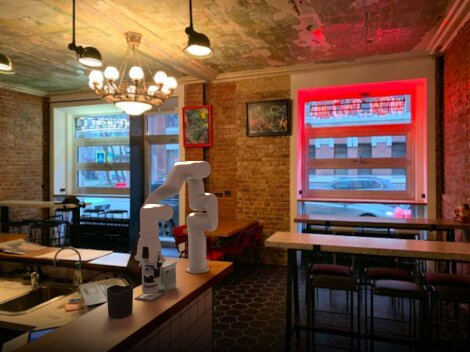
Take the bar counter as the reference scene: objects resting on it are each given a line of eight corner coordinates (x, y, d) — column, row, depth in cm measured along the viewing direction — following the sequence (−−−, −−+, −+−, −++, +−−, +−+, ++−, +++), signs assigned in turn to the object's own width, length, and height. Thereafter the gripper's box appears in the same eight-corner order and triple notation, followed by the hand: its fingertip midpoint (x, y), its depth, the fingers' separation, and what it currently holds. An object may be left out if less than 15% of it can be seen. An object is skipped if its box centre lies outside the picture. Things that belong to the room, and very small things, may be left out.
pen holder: (124, 307, 131) (124, 282, 131) (138, 313, 125) (138, 287, 125) (102, 315, 124) (101, 288, 124) (115, 322, 118) (115, 294, 118)
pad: (148, 292, 148) (148, 290, 148) (165, 295, 144) (165, 293, 144) (134, 299, 140) (134, 297, 140) (151, 302, 136) (151, 300, 136)
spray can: (142, 295, 138) (141, 247, 138) (142, 289, 144) (141, 244, 144) (158, 293, 140) (157, 246, 140) (157, 288, 146) (157, 243, 146)
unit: (163, 285, 158) (163, 260, 158) (177, 287, 154) (177, 261, 154) (150, 291, 149) (150, 265, 149) (165, 294, 146) (164, 267, 146)
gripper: (127, 235, 142) (128, 276, 142) (160, 237, 135) (161, 281, 135) (139, 232, 149) (140, 272, 149) (171, 234, 142) (172, 276, 142)
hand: (150, 276), depth 142 cm, fingers closed on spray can, 6 cm apart
